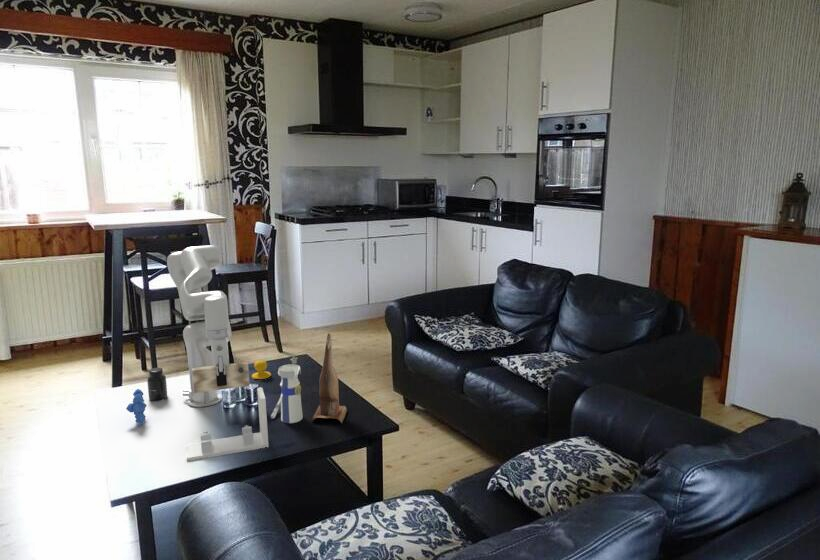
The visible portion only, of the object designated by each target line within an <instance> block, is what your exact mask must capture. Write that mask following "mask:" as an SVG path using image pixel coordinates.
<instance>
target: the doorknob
mask: <svg viewBox="0 0 820 560" xmlns="http://www.w3.org/2000/svg"><path fill="white" fill-rule="evenodd" d="M253 368H254V369H255V370H256V371H257V372H254V373H252V374H251V379H252V378H253V379H252V380H254V379H265V378H268V377H270V376H271V377H272V373H271V372H270V371H266V369H267V368H268V363H267V361H265V360H264V359H260V360H257V361H255V362H254V364H253ZM271 377H270V378H271ZM268 379H269V378H268ZM265 380H266V379H265Z"/></svg>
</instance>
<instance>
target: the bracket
mask: <svg viewBox="0 0 820 560" xmlns="http://www.w3.org/2000/svg"><path fill="white" fill-rule="evenodd" d="M280 409H281V396H280V397H279V399H278V401H277V403H276V404H275V408H274V409H273V411H272V413H271V414H270V418H271V420H273V419H275V418H276V416H277V413H278V412H279V410H280Z"/></svg>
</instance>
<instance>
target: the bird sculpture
mask: <svg viewBox="0 0 820 560" xmlns="http://www.w3.org/2000/svg"><path fill="white" fill-rule="evenodd" d="M325 342H326V343H325V350H324V357H323V362H322V369H321V372H320V375H319V381H318V383H319V384H318V385H319V386H318V387H319V390H318V392H319V393H318V394H319V405H318V406H317V409H316V411H315V413H314V414H313V417H312V418H311V423H313V422H314V421H315V420H316V419H319V418H320V419H325V418H326V419H329V418H330V419H336V420H338V421H340V424H343V421H344V419H345V417H346V414H347V410H348V409H347V407H346V405H340V399H339V398H340V396H339V394H340V393H339V377H338V376H339V375H338V373H337V370H336V369H335V367H334V366H333V365H334V364H333V348H332V347H333V345H332V344H333V343H332V334H331V333H330V332H328V333H327V337H326V341H325Z"/></svg>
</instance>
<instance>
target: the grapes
mask: <svg viewBox="0 0 820 560" xmlns="http://www.w3.org/2000/svg"><path fill="white" fill-rule="evenodd" d="M132 395H133V399H132V403H131V402H130V403H128V405H127V406H126V408H125V409H126V410H127V412H129V413H133V415H134V418H135V420H134V421H135V422H136V423H137V424H138V425H143V424H144V423H145V421H146V414H145V413H144V412H145V411H146V408H147V404H146V403H145V399H144V397H143V396H144V392H143V391H142V390H141V389H139V388H137V389H135V390H134V392H133V393H132Z"/></svg>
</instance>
